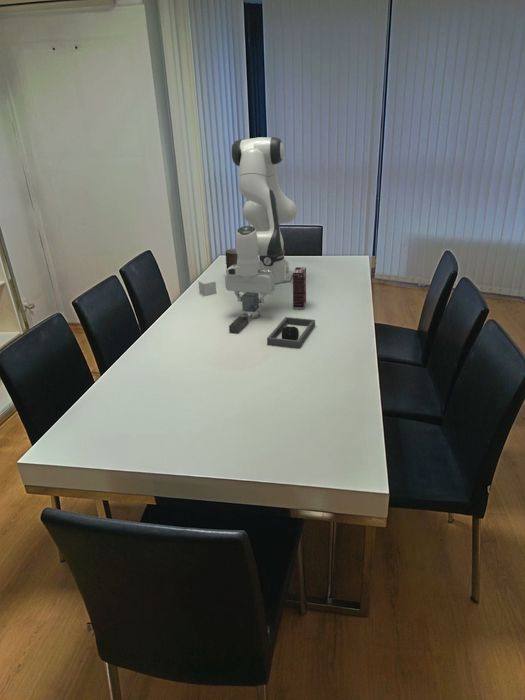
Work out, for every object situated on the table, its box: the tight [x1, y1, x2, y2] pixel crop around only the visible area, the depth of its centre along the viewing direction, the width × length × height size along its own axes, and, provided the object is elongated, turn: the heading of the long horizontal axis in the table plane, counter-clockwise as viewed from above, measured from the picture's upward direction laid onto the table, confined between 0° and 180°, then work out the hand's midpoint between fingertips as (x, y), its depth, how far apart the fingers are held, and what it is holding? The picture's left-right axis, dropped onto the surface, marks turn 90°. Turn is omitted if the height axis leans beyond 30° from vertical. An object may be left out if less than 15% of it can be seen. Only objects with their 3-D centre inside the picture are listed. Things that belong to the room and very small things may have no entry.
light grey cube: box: [198, 278, 217, 297], centre depth 228 cm, size 6×6×6 cm
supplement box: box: [292, 266, 307, 310], centre depth 205 cm, size 9×5×16 cm, turn 168°
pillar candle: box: [225, 247, 238, 270], centre depth 248 cm, size 10×10×15 cm
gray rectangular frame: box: [266, 316, 316, 349], centre depth 181 cm, size 21×12×2 cm, turn 159°
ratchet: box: [228, 307, 261, 334], centre depth 193 cm, size 22×7×6 cm, turn 159°
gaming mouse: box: [281, 325, 300, 340], centre depth 178 cm, size 6×15×4 cm, turn 175°
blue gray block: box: [241, 292, 260, 312], centre depth 198 cm, size 5×5×6 cm
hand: (250, 302), depth 198 cm, fingers open, 8 cm apart
